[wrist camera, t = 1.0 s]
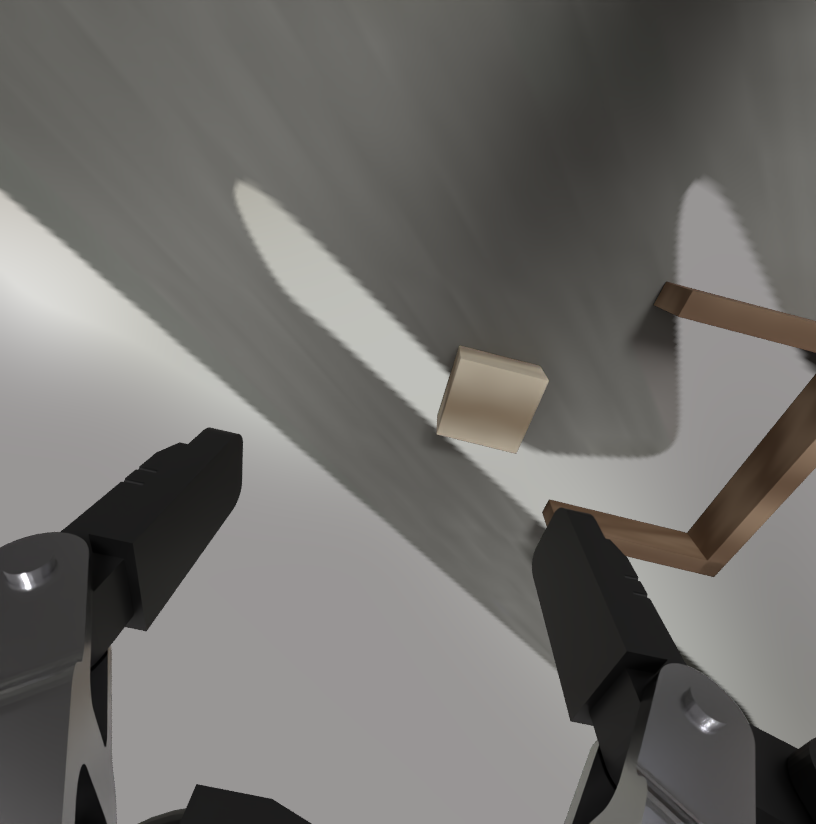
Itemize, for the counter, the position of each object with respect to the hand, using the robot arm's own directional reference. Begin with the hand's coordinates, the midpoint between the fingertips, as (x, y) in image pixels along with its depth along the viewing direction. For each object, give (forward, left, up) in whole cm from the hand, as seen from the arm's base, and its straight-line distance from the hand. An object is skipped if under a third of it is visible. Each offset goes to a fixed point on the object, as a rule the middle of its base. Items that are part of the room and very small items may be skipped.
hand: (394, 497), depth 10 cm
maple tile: (+5, +6, -20) cm, 21 cm away
